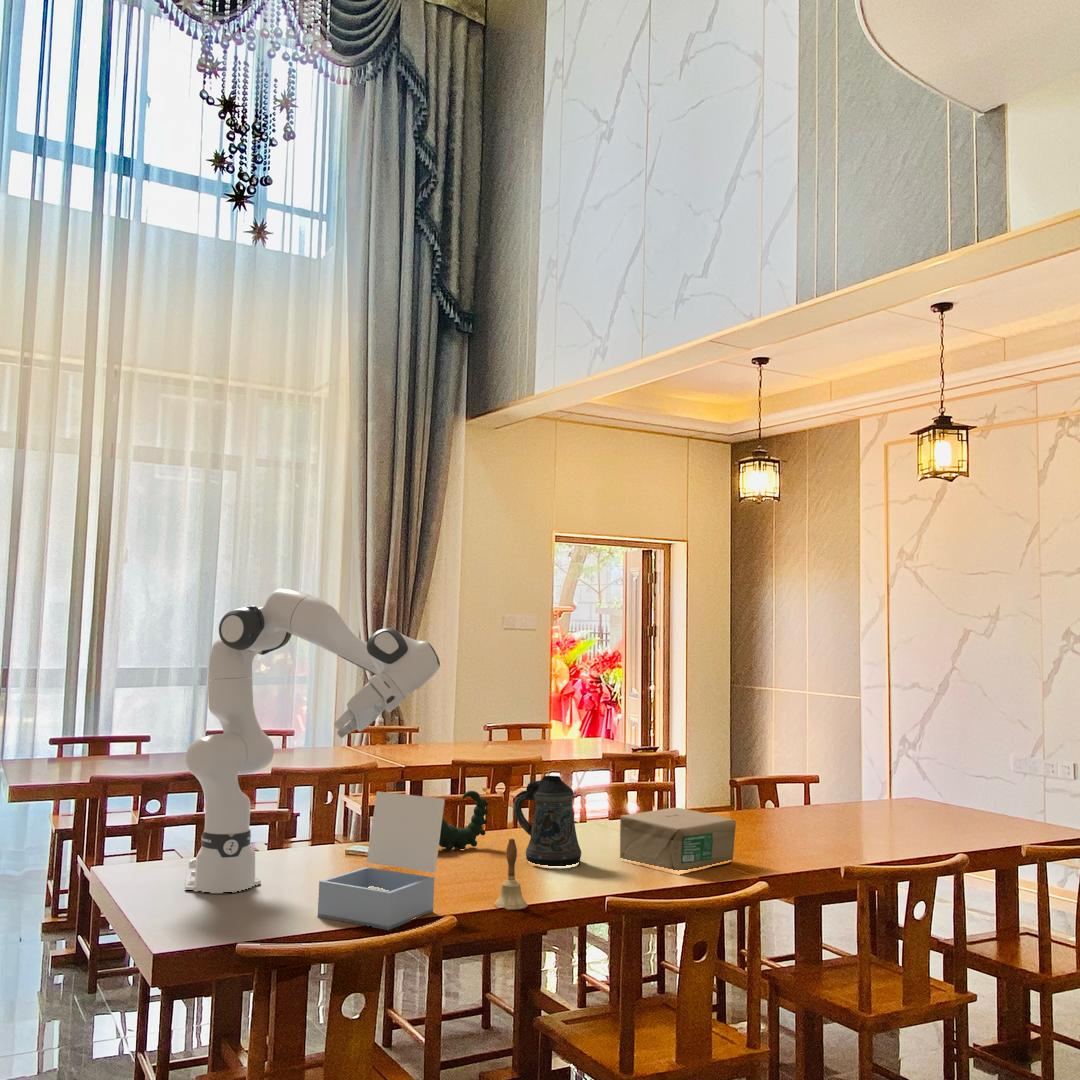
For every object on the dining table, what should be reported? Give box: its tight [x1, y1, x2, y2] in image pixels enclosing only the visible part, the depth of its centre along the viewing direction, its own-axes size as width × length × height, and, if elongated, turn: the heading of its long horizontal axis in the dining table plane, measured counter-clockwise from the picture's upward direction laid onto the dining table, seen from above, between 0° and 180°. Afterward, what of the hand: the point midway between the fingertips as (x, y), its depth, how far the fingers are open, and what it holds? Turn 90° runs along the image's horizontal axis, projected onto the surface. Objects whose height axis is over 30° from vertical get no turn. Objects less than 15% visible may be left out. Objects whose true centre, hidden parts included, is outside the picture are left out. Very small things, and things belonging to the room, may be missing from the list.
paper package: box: [619, 807, 737, 871], centre depth 303 cm, size 27×26×14 cm
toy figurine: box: [439, 790, 489, 851], centre depth 312 cm, size 9×19×25 cm
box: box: [317, 866, 435, 931], centre depth 237 cm, size 18×20×8 cm
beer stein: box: [513, 775, 582, 866], centre depth 297 cm, size 16×19×25 cm
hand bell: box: [494, 838, 529, 911], centre depth 248 cm, size 8×8×16 cm
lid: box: [366, 791, 446, 874], centre depth 247 cm, size 17×20×1 cm
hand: (337, 731), depth 236 cm, fingers open, 8 cm apart
